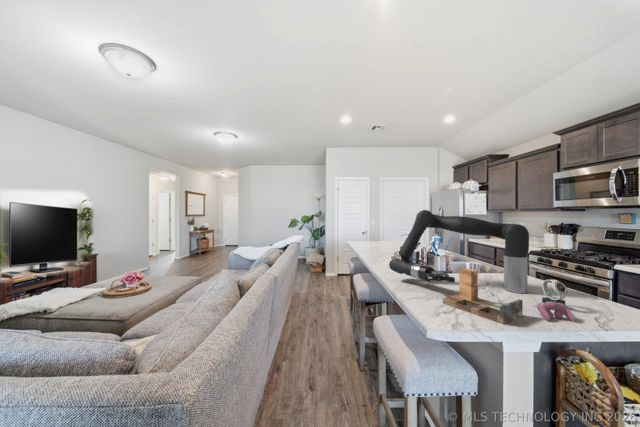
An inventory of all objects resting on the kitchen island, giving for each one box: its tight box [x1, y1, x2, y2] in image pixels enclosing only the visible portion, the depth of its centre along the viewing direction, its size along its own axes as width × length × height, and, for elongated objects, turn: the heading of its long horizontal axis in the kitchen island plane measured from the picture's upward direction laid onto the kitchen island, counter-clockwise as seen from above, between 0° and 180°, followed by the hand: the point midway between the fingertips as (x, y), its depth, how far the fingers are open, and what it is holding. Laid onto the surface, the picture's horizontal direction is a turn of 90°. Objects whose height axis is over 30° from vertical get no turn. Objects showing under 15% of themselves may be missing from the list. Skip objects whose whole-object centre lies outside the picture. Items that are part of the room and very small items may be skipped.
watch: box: [541, 279, 568, 306], centre depth 100 cm, size 6×8×11 cm
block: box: [458, 268, 479, 301], centre depth 106 cm, size 5×5×12 cm
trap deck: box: [442, 293, 524, 325], centre depth 98 cm, size 14×23×6 cm, turn 29°
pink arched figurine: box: [536, 302, 577, 323], centre depth 89 cm, size 10×5×7 cm, turn 85°
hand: (453, 280), depth 112 cm, fingers closed
